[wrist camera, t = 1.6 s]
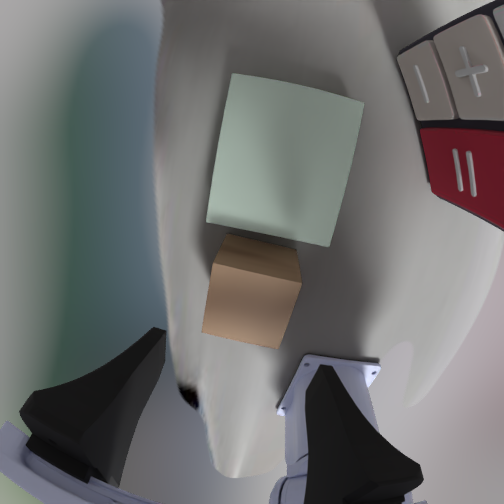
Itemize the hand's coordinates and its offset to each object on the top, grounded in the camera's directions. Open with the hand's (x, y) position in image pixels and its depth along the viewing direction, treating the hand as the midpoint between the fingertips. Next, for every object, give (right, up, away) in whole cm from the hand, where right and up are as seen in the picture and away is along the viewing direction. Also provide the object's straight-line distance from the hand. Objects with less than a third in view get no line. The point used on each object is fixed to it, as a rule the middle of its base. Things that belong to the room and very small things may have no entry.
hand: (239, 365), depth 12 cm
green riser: (+3, +11, +6) cm, 13 cm away
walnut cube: (+1, +4, +9) cm, 10 cm away
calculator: (+14, +14, +3) cm, 20 cm away
